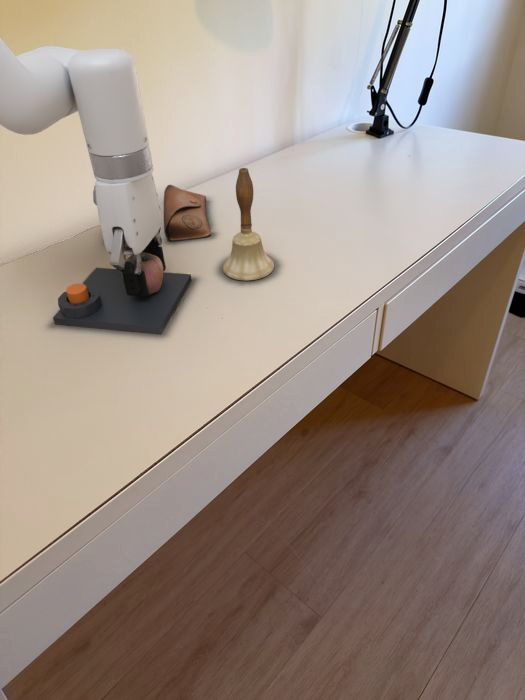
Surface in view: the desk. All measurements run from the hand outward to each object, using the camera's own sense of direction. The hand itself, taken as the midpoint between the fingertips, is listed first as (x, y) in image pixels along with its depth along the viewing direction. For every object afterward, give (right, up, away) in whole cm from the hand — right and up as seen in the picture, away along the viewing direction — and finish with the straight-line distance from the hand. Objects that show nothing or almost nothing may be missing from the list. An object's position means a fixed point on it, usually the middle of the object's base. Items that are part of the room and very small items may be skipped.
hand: (147, 281), depth 78 cm
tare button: (-9, -3, -3) cm, 10 cm away
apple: (0, -2, 0) cm, 2 cm away
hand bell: (+15, +3, +7) cm, 17 cm away
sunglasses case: (+3, +15, +22) cm, 27 cm away
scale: (-3, -3, +1) cm, 4 cm away
